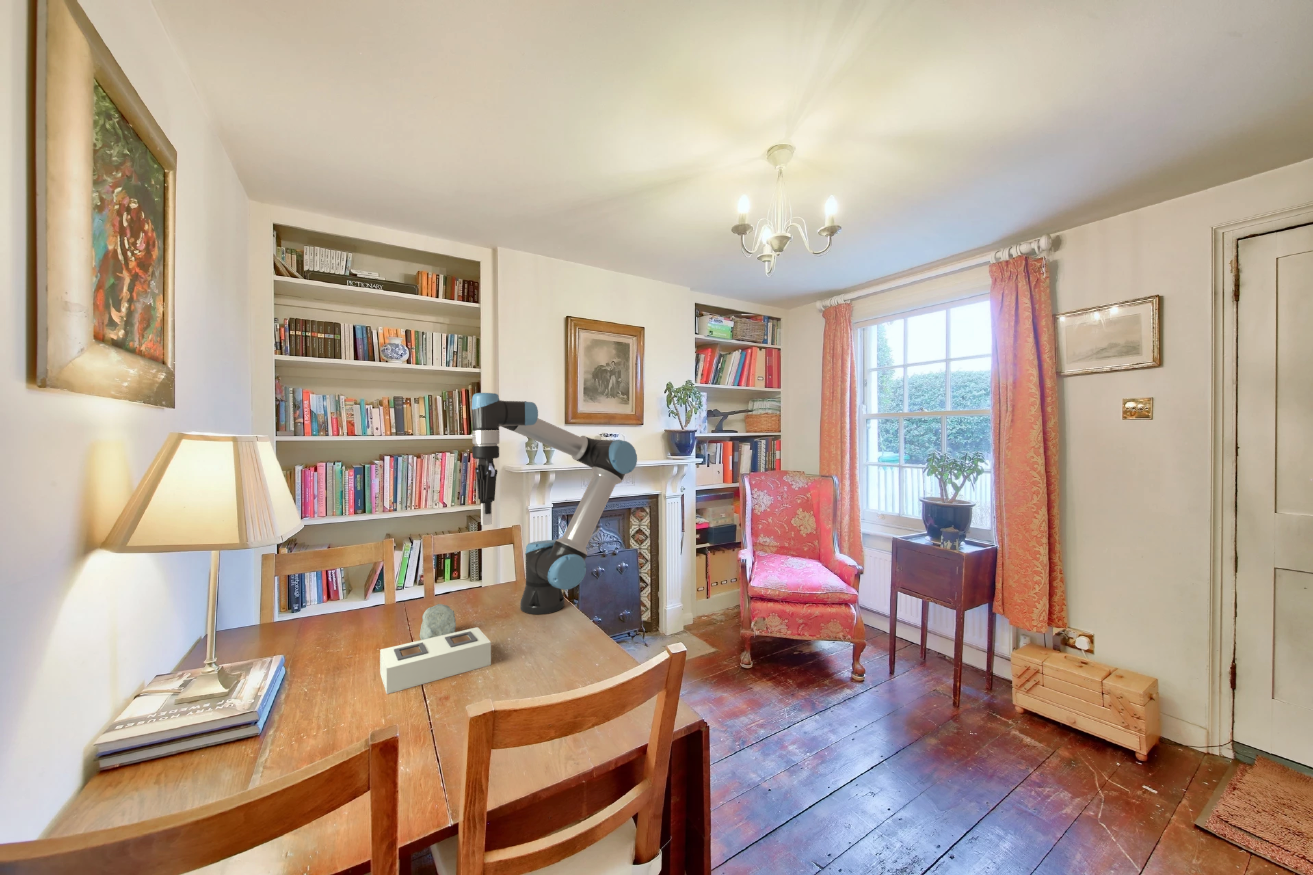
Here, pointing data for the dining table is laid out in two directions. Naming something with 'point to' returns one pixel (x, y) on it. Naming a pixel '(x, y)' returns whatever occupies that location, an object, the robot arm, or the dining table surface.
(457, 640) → the peg
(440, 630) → the decorative stone
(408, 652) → the peg
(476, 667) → the socket block
